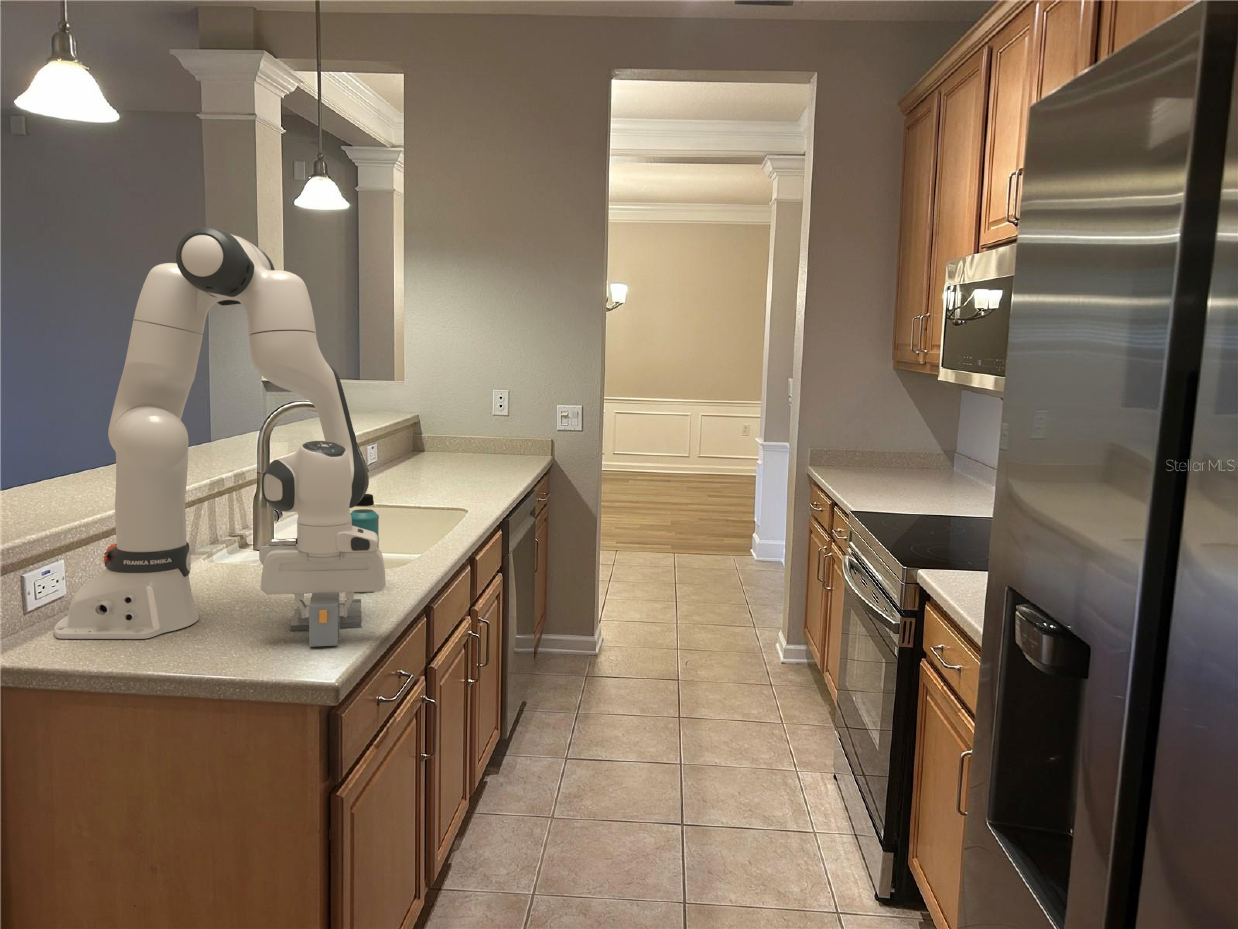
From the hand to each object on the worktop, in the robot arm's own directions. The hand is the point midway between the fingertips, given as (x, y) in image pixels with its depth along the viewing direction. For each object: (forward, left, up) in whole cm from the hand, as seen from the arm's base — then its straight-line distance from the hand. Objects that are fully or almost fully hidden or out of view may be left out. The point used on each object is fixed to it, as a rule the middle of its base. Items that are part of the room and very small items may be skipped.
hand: (324, 617), depth 156 cm
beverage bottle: (+7, +31, -4) cm, 32 cm away
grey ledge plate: (+1, +11, -4) cm, 12 cm away
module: (0, 0, -4) cm, 4 cm away
